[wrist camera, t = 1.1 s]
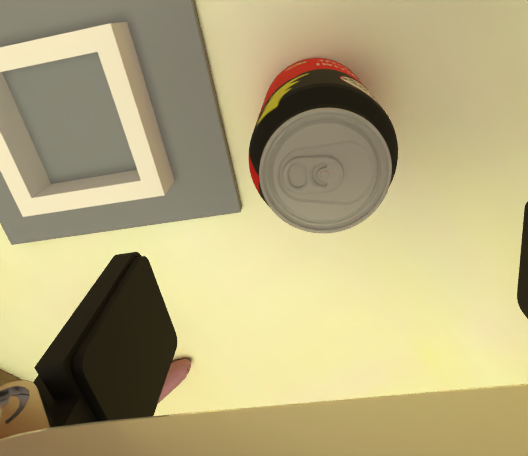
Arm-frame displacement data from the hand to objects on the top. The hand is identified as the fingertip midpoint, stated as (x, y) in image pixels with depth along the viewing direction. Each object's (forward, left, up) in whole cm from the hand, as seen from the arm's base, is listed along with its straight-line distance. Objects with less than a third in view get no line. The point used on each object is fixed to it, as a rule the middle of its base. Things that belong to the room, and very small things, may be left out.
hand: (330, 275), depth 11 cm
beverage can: (0, 0, -19) cm, 19 cm away
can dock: (+15, -2, -19) cm, 24 cm away
